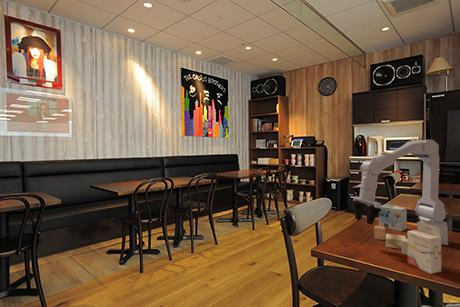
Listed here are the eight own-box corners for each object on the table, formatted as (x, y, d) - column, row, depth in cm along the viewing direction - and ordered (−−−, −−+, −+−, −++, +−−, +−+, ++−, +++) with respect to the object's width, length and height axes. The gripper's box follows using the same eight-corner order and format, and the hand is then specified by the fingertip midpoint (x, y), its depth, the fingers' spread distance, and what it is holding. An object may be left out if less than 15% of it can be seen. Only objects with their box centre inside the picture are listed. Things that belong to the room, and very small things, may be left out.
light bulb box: (378, 226, 137) (378, 205, 137) (384, 224, 141) (384, 203, 141) (401, 231, 128) (401, 209, 128) (407, 228, 132) (407, 207, 132)
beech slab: (405, 244, 112) (405, 235, 112) (406, 249, 106) (405, 240, 106) (386, 241, 116) (385, 233, 116) (385, 246, 110) (385, 238, 110)
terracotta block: (385, 237, 121) (384, 226, 121) (384, 240, 117) (384, 229, 117) (375, 236, 123) (374, 225, 123) (374, 238, 120) (374, 227, 119)
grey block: (413, 252, 104) (413, 239, 104) (414, 256, 100) (414, 242, 100) (401, 250, 106) (401, 238, 106) (401, 254, 102) (401, 241, 102)
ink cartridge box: (406, 263, 94) (406, 222, 94) (417, 261, 95) (416, 220, 95) (431, 274, 86) (430, 229, 86) (442, 271, 87) (441, 227, 87)
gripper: (349, 185, 117) (344, 216, 117) (371, 190, 103) (366, 225, 103) (363, 187, 118) (359, 217, 118) (387, 192, 104) (382, 227, 104)
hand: (363, 221), depth 110 cm, fingers open, 7 cm apart
